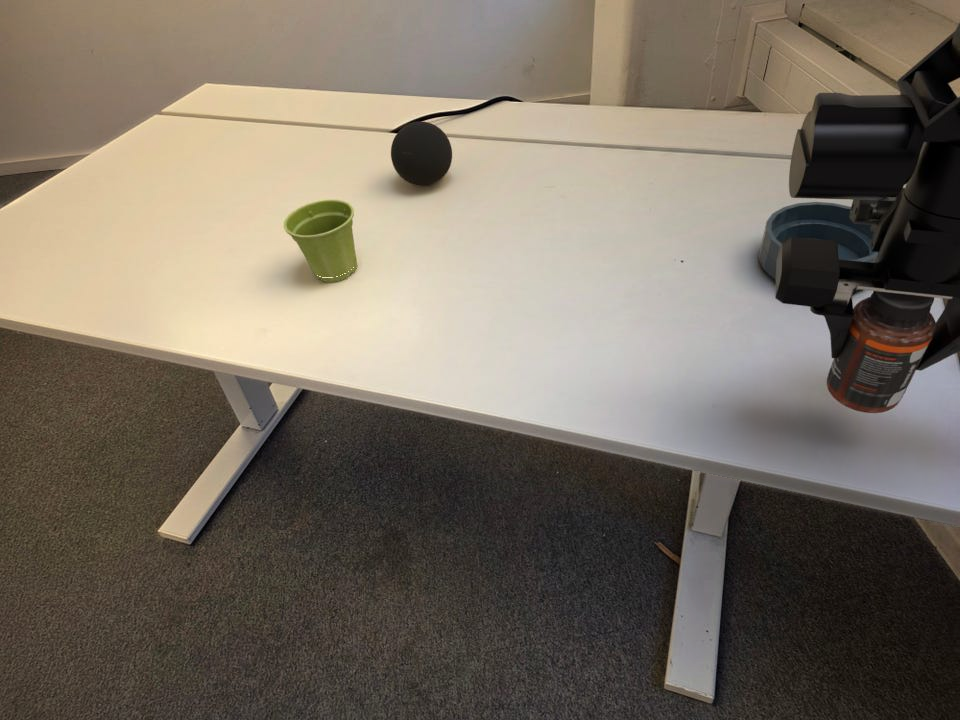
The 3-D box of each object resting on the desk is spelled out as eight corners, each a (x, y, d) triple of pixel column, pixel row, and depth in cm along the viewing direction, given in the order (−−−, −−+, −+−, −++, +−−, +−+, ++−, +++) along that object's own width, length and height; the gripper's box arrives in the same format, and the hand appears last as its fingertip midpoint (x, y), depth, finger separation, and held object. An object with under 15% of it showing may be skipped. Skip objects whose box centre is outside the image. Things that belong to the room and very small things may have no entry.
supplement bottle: (913, 414, 52) (968, 313, 44) (840, 419, 53) (882, 320, 45) (881, 365, 56) (926, 266, 49) (814, 370, 57) (848, 273, 49)
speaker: (402, 202, 98) (389, 143, 92) (394, 175, 106) (381, 118, 99) (461, 189, 99) (452, 129, 92) (449, 163, 107) (440, 106, 100)
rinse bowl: (870, 240, 78) (884, 206, 74) (880, 305, 69) (896, 269, 66) (759, 231, 82) (767, 198, 78) (755, 290, 73) (764, 256, 70)
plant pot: (302, 260, 89) (282, 208, 83) (364, 245, 90) (349, 192, 84) (305, 297, 83) (284, 243, 77) (373, 280, 84) (357, 225, 78)
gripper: (1086, 150, 43) (985, 316, 54) (800, 139, 49) (760, 290, 60) (1145, 234, 36) (1015, 407, 47) (801, 210, 42) (756, 368, 53)
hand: (874, 360), depth 52 cm, fingers closed on supplement bottle, 6 cm apart
